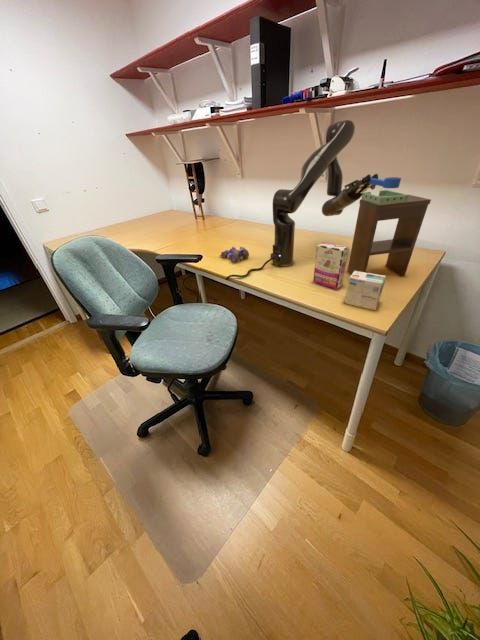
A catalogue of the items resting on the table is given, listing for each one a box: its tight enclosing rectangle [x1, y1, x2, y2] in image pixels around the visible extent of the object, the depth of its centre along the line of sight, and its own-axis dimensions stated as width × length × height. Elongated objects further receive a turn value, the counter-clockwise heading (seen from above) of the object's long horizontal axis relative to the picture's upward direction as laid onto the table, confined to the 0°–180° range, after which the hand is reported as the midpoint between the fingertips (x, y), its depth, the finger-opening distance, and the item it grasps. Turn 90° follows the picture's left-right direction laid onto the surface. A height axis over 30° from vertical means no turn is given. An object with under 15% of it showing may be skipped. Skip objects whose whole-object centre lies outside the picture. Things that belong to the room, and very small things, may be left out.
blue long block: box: [361, 176, 402, 189], centre depth 95 cm, size 20×5×3 cm, turn 9°
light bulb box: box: [344, 271, 387, 311], centre depth 90 cm, size 11×7×11 cm, turn 56°
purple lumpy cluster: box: [219, 246, 250, 264], centre depth 136 cm, size 10×15×6 cm, turn 43°
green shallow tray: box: [360, 189, 409, 205], centre depth 93 cm, size 12×10×2 cm
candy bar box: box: [312, 241, 350, 290], centre depth 102 cm, size 11×5×16 cm, turn 45°
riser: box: [346, 194, 432, 277], centre depth 103 cm, size 12×20×30 cm, turn 99°
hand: (373, 176), depth 98 cm, fingers closed on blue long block, 2 cm apart
